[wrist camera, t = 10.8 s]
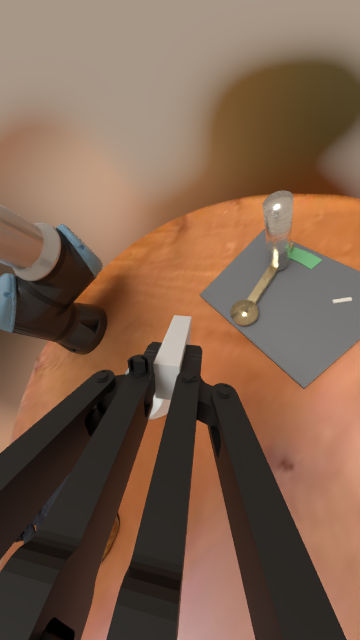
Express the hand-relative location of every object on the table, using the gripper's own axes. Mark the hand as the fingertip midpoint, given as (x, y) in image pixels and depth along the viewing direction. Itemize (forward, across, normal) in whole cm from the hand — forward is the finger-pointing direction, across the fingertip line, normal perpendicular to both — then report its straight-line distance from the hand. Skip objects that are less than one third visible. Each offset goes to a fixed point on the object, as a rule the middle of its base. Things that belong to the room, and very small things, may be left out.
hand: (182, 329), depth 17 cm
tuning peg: (+23, +13, -2) cm, 27 cm away
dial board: (+22, +16, -4) cm, 27 cm away
